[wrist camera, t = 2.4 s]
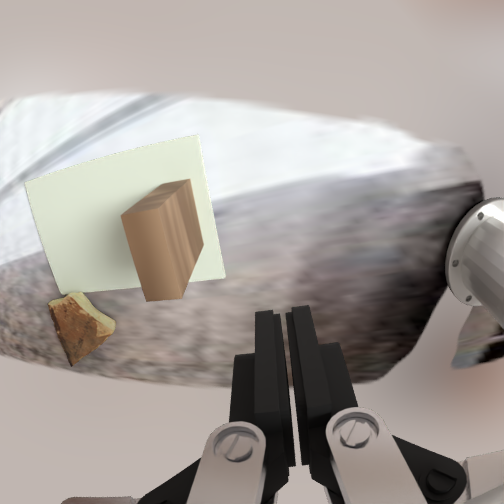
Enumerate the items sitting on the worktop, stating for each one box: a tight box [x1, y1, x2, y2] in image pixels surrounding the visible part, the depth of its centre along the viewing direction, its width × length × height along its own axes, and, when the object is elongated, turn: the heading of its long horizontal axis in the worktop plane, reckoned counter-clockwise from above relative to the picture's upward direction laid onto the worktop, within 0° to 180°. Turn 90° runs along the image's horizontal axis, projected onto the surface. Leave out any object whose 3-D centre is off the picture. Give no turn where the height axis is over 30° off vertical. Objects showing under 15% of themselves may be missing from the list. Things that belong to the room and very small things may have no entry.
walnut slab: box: [120, 179, 204, 302], centre depth 23 cm, size 2×6×9 cm, turn 9°
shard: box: [48, 292, 116, 367], centre depth 32 cm, size 11×8×2 cm
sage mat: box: [25, 134, 226, 295], centre depth 28 cm, size 19×13×1 cm
